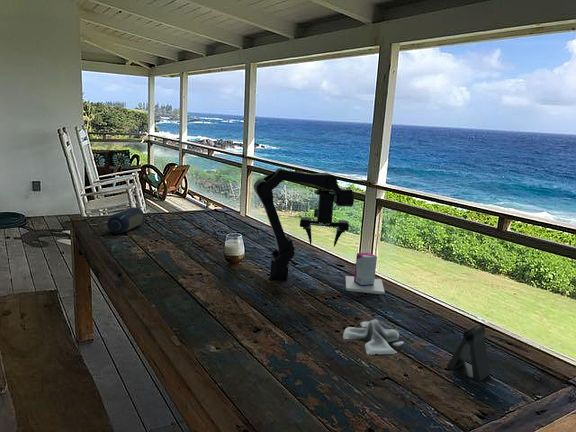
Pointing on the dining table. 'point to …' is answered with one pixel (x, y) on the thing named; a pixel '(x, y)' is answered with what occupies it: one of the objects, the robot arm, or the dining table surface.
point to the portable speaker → (126, 220)
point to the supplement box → (365, 269)
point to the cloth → (374, 337)
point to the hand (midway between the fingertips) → (322, 245)
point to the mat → (353, 286)
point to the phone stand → (479, 358)
